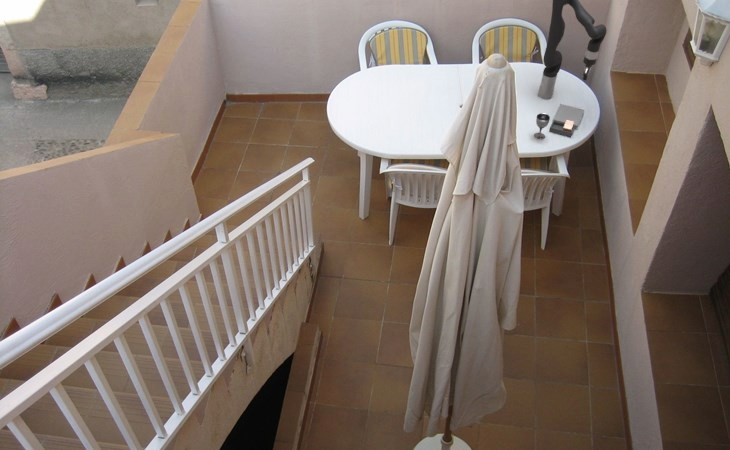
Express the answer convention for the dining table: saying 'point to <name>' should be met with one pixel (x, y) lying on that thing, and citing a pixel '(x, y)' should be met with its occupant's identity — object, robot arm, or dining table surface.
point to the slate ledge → (568, 114)
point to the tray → (560, 129)
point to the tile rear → (569, 123)
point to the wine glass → (541, 124)
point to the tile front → (567, 128)
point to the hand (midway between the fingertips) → (584, 79)
